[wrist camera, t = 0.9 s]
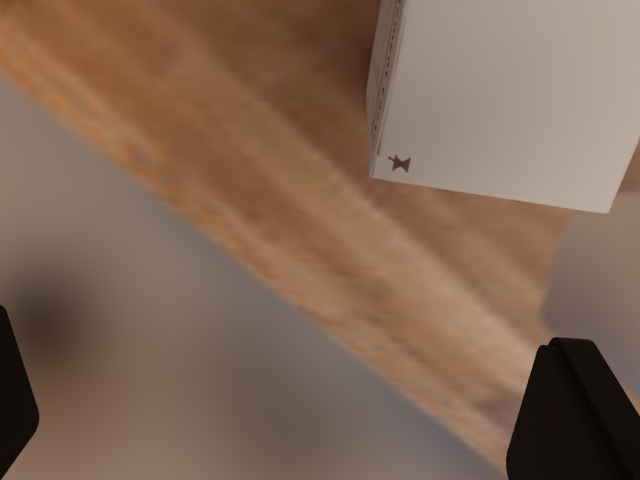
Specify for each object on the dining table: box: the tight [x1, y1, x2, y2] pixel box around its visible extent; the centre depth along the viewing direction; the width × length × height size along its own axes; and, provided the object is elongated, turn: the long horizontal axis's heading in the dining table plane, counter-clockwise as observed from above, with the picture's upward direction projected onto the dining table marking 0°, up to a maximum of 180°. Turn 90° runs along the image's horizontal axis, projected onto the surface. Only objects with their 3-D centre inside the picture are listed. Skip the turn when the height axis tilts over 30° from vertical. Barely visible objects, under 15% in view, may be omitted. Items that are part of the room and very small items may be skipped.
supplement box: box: [366, 0, 640, 214], centre depth 24 cm, size 10×9×17 cm
